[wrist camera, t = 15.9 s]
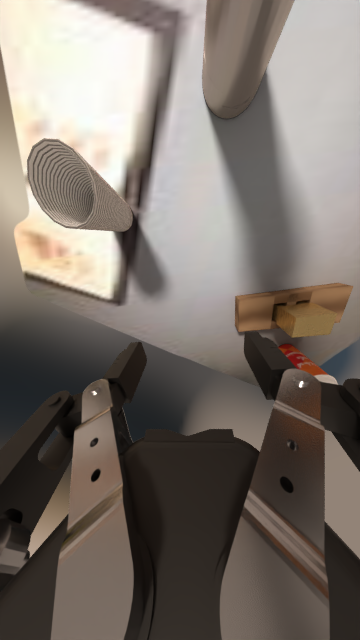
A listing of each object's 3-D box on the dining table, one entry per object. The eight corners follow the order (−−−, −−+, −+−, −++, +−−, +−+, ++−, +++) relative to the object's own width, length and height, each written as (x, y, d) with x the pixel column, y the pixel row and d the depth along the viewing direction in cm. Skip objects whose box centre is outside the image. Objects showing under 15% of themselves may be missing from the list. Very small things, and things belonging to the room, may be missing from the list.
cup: (110, 180, 28) (33, 112, 14) (146, 211, 30) (107, 178, 16) (95, 220, 32) (20, 197, 18) (127, 246, 34) (83, 243, 20)
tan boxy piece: (268, 299, 37) (296, 317, 27) (297, 296, 36) (337, 313, 26) (266, 315, 39) (291, 337, 29) (294, 312, 38) (330, 334, 28)
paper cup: (303, 345, 42) (351, 385, 30) (287, 363, 46) (323, 405, 33) (280, 337, 42) (318, 375, 29) (265, 356, 45) (294, 397, 33)
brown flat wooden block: (235, 296, 37) (239, 300, 34) (338, 283, 34) (353, 286, 31) (235, 325, 41) (238, 331, 38) (327, 316, 38) (339, 322, 34)
